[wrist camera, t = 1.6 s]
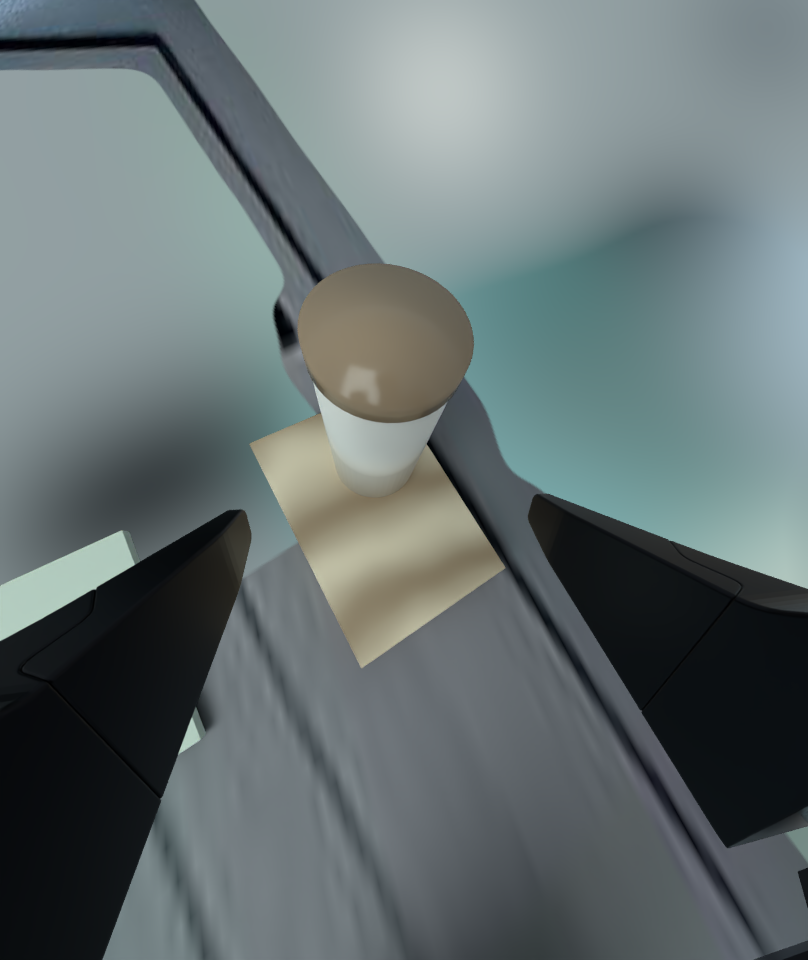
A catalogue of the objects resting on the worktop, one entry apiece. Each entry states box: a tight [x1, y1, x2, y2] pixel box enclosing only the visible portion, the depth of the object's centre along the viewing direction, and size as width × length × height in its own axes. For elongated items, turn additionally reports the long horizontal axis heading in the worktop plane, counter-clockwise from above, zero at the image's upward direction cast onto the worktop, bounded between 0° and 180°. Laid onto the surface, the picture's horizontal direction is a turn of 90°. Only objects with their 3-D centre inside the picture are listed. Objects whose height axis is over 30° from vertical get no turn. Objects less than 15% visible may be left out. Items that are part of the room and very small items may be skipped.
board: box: [250, 413, 505, 668], centre depth 21 cm, size 16×11×2 cm
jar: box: [298, 264, 474, 498], centre depth 15 cm, size 6×6×12 cm
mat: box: [0, 530, 206, 754], centre depth 16 cm, size 13×13×1 cm
